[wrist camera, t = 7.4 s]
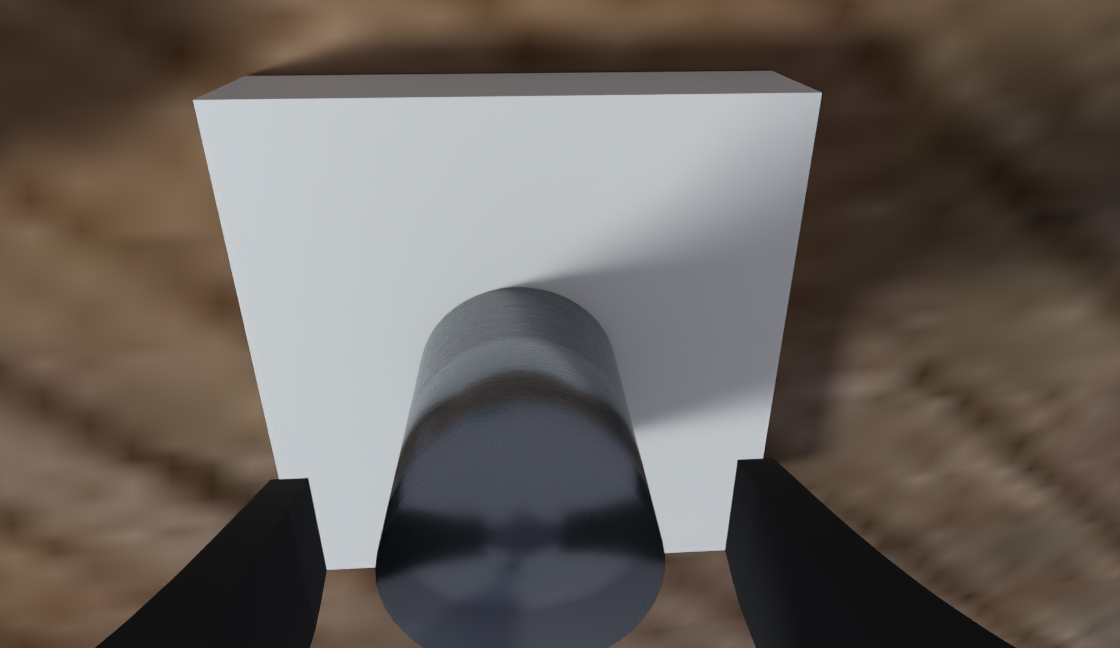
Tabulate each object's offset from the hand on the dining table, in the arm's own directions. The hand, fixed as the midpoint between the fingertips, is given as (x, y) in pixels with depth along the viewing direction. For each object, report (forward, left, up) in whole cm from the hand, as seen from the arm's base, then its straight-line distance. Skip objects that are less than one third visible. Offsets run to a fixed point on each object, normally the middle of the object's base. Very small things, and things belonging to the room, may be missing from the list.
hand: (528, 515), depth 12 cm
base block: (0, 0, -8) cm, 8 cm away
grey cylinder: (0, 0, -5) cm, 5 cm away
